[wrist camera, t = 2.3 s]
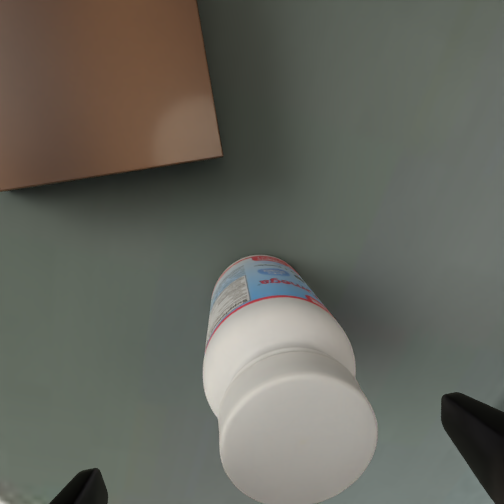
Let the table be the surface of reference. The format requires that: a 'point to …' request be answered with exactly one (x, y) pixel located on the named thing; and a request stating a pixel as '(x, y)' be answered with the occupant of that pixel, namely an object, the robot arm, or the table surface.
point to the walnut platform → (101, 89)
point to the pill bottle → (283, 387)
